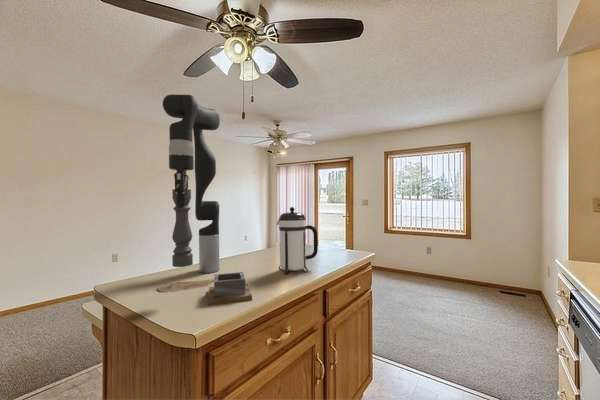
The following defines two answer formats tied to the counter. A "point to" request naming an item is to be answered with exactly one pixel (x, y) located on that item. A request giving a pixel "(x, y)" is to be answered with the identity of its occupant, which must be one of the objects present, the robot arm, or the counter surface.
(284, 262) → the coffee press
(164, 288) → the fish fossil
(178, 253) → the candle holder
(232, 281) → the collar socket
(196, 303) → the counter surface
